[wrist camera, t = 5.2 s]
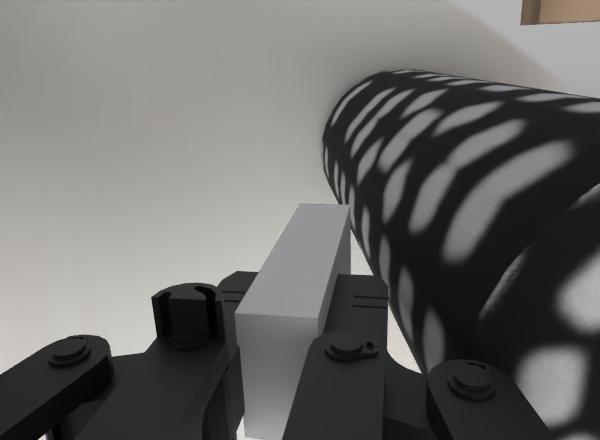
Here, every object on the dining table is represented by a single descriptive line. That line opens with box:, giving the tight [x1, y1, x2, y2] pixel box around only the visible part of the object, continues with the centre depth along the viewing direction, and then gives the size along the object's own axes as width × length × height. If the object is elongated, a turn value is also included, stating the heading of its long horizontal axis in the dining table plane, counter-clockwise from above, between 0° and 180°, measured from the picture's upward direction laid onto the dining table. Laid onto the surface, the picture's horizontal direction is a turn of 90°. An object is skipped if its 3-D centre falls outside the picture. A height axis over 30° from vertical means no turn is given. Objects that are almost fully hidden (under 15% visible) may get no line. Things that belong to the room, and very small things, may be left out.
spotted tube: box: [321, 69, 600, 440], centre depth 18 cm, size 8×8×20 cm
